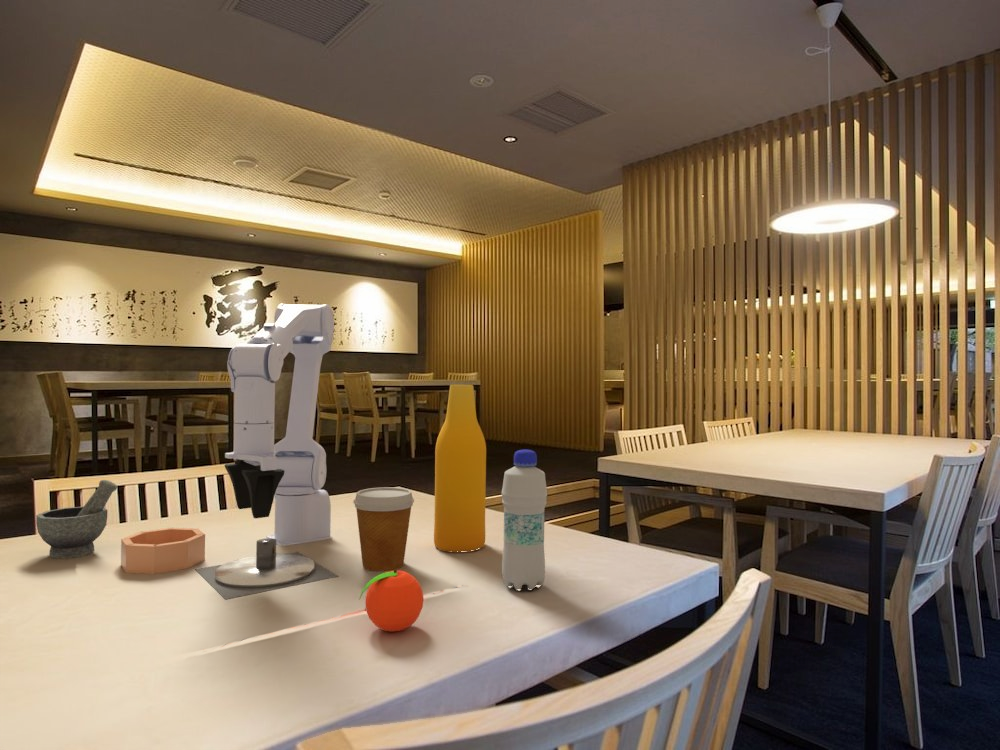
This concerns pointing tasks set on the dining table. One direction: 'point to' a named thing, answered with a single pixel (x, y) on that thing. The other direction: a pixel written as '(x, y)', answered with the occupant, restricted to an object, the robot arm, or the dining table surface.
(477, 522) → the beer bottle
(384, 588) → the clementine
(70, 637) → the dining table surface
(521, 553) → the bottle
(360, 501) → the disposable coffee cup
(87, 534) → the mortar and pestle
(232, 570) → the steel lid
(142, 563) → the terracotta bowl
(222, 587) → the rubber mat
